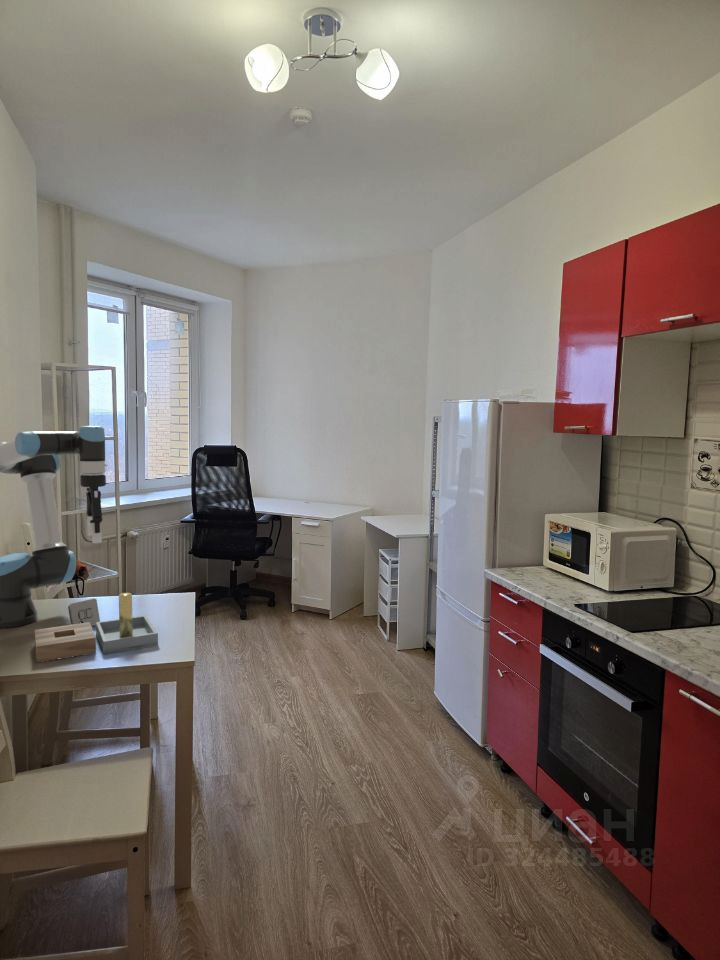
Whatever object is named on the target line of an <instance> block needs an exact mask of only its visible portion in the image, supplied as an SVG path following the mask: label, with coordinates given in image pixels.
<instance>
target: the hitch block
mask: <svg viewBox="0 0 720 960" xmlns="http://www.w3.org/2000/svg"><path fill="white" fill-rule="evenodd" d="M96 637H97V636H96V633H95V631H94V630H93V626H91V624H90V622H87V623H81V622H80V624H73V625H71V624H68V625H60V626H53V627H52V626H51V627H46V628H38V629H34V647H35V649H34V650H35V658H36V660H35V661H36V663H37V662H40V663H43V662H42V661H46V662H48V661H47V660H52V661H55V660H54V659H58V658H64V659H67V658H66V657H71V658H73V657H72V656H77V657H79V656H78V655H83V656H86V655H85V654H89V655H93V654H92V653H95V654H97V643H96V641H97V640H96V639H97V638H96ZM58 660H59V659H58Z"/></svg>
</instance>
